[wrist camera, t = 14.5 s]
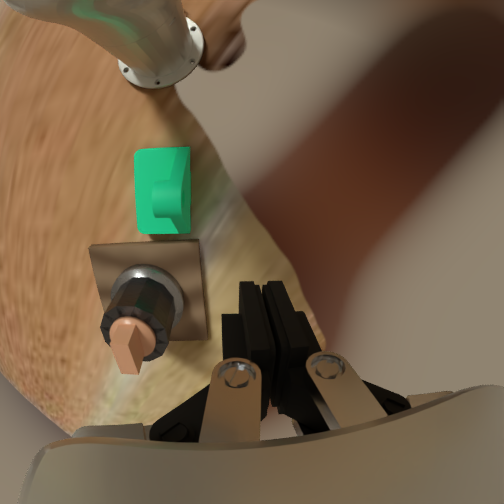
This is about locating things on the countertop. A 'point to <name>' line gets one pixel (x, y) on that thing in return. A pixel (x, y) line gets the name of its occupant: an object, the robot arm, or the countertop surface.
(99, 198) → the countertop surface
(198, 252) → the mount board
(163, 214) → the camera mount
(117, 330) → the tan knob
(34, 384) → the countertop surface
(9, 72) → the countertop surface
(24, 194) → the countertop surface
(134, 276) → the black hollow cylinder
